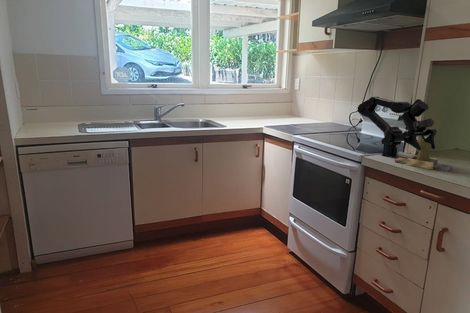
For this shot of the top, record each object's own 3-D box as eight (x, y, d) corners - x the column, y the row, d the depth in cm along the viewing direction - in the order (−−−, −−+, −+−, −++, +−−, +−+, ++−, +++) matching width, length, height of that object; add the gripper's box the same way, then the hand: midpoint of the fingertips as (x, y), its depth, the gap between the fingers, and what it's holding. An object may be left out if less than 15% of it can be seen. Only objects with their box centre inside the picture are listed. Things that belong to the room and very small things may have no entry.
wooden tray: (393, 162, 168) (394, 156, 167) (400, 158, 176) (401, 153, 175) (447, 172, 154) (448, 165, 153) (451, 167, 162) (452, 161, 161)
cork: (421, 163, 169) (425, 141, 166) (432, 166, 163) (435, 143, 161) (412, 163, 167) (415, 141, 164) (422, 166, 161) (425, 144, 159)
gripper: (408, 112, 159) (425, 140, 152) (437, 112, 166) (454, 138, 159) (392, 127, 168) (408, 154, 161) (420, 125, 175) (436, 151, 168)
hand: (427, 149), depth 162 cm, fingers open, 9 cm apart
